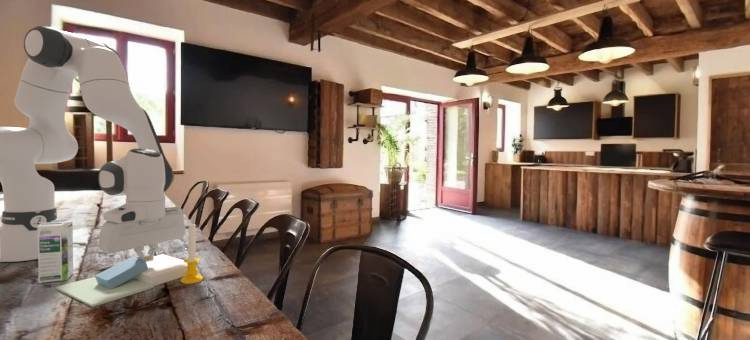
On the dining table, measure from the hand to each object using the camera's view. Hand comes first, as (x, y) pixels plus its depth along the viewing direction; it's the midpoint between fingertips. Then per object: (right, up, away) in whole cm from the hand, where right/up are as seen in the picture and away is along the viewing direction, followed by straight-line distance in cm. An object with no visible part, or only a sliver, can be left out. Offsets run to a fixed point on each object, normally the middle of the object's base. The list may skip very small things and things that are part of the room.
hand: (146, 261), depth 94 cm
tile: (-2, -3, -5) cm, 6 cm away
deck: (+1, -4, +3) cm, 5 cm away
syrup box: (-21, -4, -3) cm, 22 cm away
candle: (+13, -5, -1) cm, 14 cm away
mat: (-5, -4, -8) cm, 10 cm away
